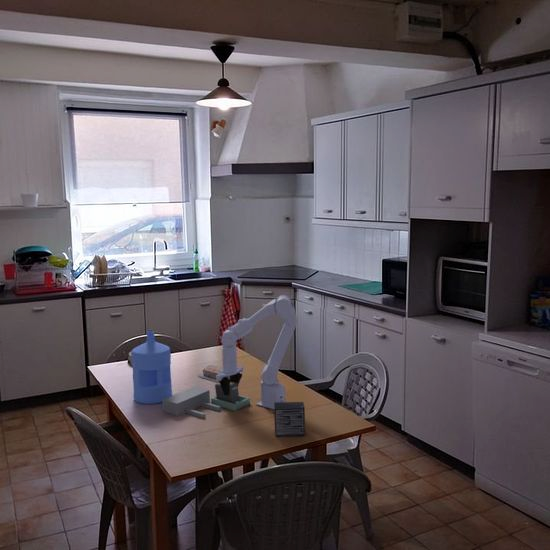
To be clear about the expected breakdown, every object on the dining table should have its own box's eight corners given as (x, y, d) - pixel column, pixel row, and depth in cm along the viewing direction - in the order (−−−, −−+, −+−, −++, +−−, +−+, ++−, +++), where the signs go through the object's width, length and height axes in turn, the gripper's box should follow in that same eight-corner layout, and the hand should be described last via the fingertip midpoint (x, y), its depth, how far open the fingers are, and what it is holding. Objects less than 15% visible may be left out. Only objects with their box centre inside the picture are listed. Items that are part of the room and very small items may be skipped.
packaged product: (240, 370, 260) (224, 375, 253) (240, 380, 261) (224, 386, 254) (213, 362, 272) (197, 367, 265) (213, 372, 273) (197, 377, 266)
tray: (250, 404, 231) (249, 398, 231) (235, 411, 224) (235, 404, 223) (226, 397, 238) (226, 391, 238) (211, 404, 231) (211, 398, 231)
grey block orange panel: (240, 400, 231) (238, 382, 230) (233, 403, 227) (230, 385, 227) (224, 398, 236) (222, 380, 235) (217, 401, 232) (214, 384, 232)
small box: (303, 428, 207) (303, 400, 205) (305, 436, 200) (305, 407, 199) (274, 429, 206) (274, 401, 205) (275, 437, 200) (274, 408, 198)
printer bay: (227, 406, 228) (227, 394, 227) (195, 421, 214) (195, 408, 213) (195, 397, 238) (195, 386, 237) (163, 411, 224) (162, 399, 223)
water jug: (127, 397, 240) (123, 331, 236) (160, 388, 250) (158, 325, 246) (144, 407, 228) (141, 339, 224) (179, 398, 238) (177, 332, 234)
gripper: (233, 354, 236) (234, 386, 238) (209, 363, 225) (210, 396, 227) (247, 357, 232) (247, 389, 234) (223, 366, 221) (224, 400, 223)
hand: (230, 393), depth 230 cm, fingers closed on grey block orange panel, 4 cm apart
